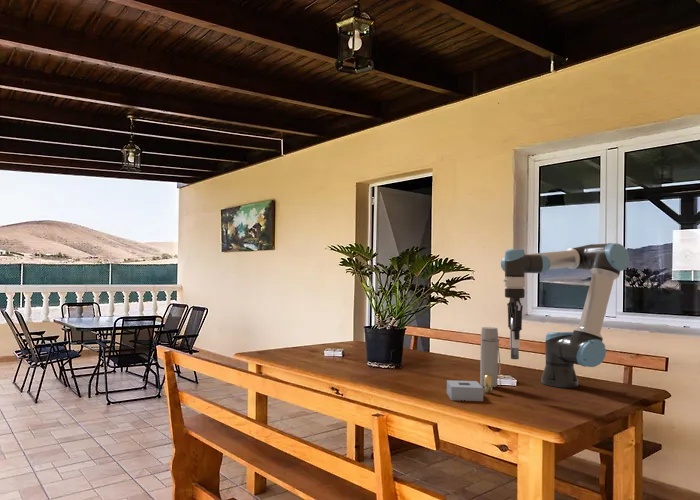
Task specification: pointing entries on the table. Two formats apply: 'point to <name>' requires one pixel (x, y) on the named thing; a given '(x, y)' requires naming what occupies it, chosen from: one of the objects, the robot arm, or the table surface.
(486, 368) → the water bottle
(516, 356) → the long pin
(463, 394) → the socket block
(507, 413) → the table surface
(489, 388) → the short pin
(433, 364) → the table surface
